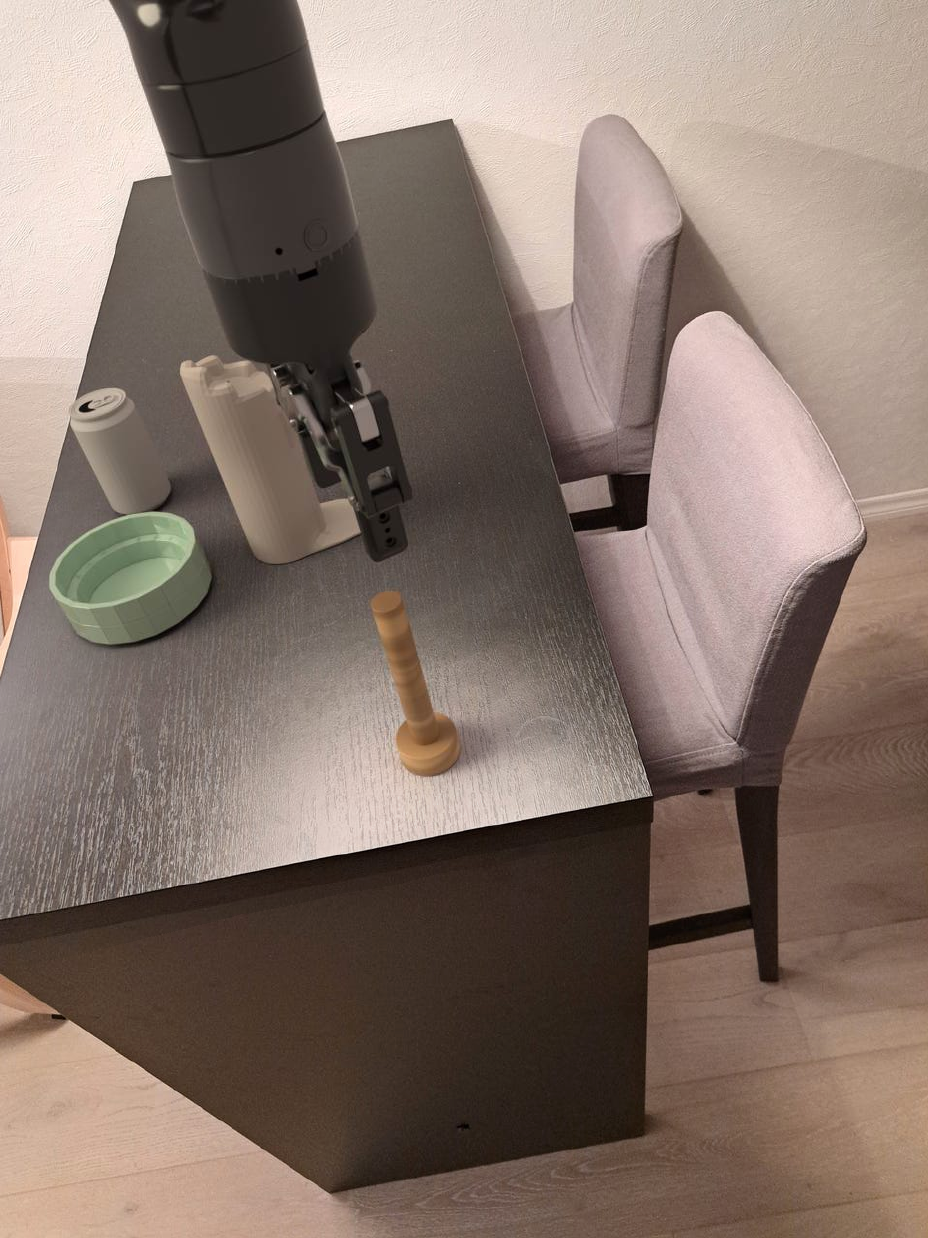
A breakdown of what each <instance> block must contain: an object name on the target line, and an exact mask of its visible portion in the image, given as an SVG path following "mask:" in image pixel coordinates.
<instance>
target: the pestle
mask: <svg viewBox="0 0 928 1238" xmlns="http://www.w3.org/2000/svg"><path fill="white" fill-rule="evenodd" d="M370 608H371V611H372V614H373V617H374V621H375V624H376V627H377V630H378V634H379V636H380V640H381V642H382V646H383V649H384V653H385V656H386V659H387V663H388V665H389V669H390V672H391V675H392V679H393V682H394V685H395V688H396V692H397V695H398V698H399V701H400V704H401V708H402V711H403V714H404V717H405V721H404V722H403V723H402V724H401V725H400V726H399V728H398V729H397V732H396V735H395V745H396V748H397V752H398V755H399V757H400V761H401V763H402V766H403V767H404V768H405V769H406V770H407V771H408V772H409V773H412V774H414V775H416V776H420V777H432V776H433V777H434V776H436V775H441V774H442V773H445V772H446V771H447V770H449V769H450V768H452V767H453V766H454V764H456V762H457V760H458V758H459V756H460V753H461V743H460V739H459V736H458V731H457V728H456V725H455V723H454V721H453V720H452V719H451V718H450V717H449V716H447V715H445V714H444V713H441V712H437V711H434V708H433V703H432V700H431V697H430V693H429V690H428V686H427V683H426V678H425V676H424V675H425V674H424V672H423V668H422V663H421V661H420V657H419V653H418V649H417V646H416V644H415V639H414V636H413V631H412V628H411V625H410V622H409V618H408V614H407V610H406V607H405V603H404V599H403V597H402V595H401V594H400V593H399V592H397V591H394V590H385V591H382V592H379V593H378V594H376V595H375V596H374V597H372V599H371V601H370Z"/></svg>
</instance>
